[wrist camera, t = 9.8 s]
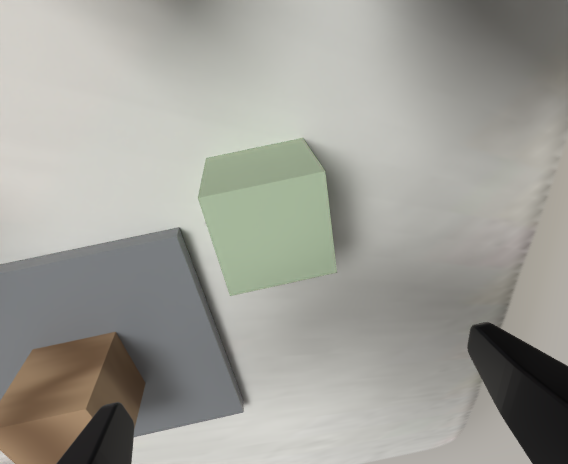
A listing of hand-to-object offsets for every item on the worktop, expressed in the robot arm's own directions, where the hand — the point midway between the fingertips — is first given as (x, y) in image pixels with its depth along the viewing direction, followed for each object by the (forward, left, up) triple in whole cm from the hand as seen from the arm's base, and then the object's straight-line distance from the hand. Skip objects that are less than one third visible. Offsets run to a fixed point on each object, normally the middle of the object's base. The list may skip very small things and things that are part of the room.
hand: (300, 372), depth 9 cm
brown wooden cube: (+13, +9, -11) cm, 19 cm away
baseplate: (+13, +9, -12) cm, 20 cm away
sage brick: (0, 0, -12) cm, 12 cm away
